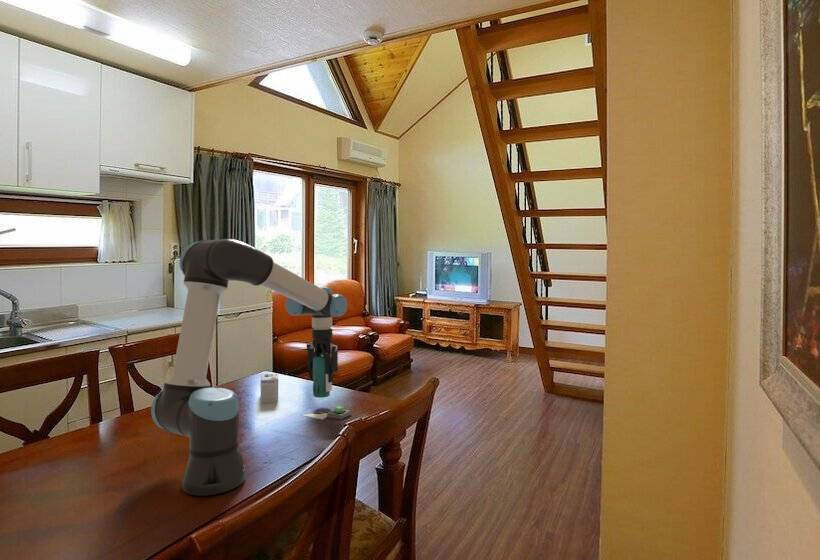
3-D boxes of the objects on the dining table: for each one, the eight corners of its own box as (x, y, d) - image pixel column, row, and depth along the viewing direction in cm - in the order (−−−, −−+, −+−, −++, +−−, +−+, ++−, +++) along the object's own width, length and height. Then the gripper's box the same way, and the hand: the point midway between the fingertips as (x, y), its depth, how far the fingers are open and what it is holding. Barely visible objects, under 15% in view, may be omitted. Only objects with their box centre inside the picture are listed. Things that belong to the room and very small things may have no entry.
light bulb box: (260, 400, 184) (260, 374, 184) (278, 399, 186) (277, 373, 186) (260, 408, 174) (260, 379, 174) (278, 406, 176) (278, 378, 176)
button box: (341, 419, 160) (341, 415, 160) (327, 417, 162) (327, 412, 162) (350, 414, 165) (350, 410, 165) (337, 412, 168) (337, 408, 168)
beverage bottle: (332, 397, 175) (332, 345, 175) (327, 402, 169) (327, 348, 169) (315, 397, 176) (315, 345, 176) (310, 401, 169) (310, 348, 169)
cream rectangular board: (322, 419, 160) (322, 418, 160) (295, 414, 165) (295, 413, 165) (348, 407, 174) (348, 406, 174) (323, 403, 179) (323, 402, 179)
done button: (340, 413, 161) (340, 409, 161) (332, 412, 163) (332, 408, 163) (345, 411, 164) (345, 407, 164) (338, 409, 166) (338, 405, 166)
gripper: (347, 328, 171) (348, 390, 171) (309, 326, 179) (310, 385, 179) (335, 330, 164) (336, 394, 165) (296, 328, 172) (297, 389, 173)
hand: (322, 389), depth 172 cm, fingers closed on beverage bottle, 5 cm apart
